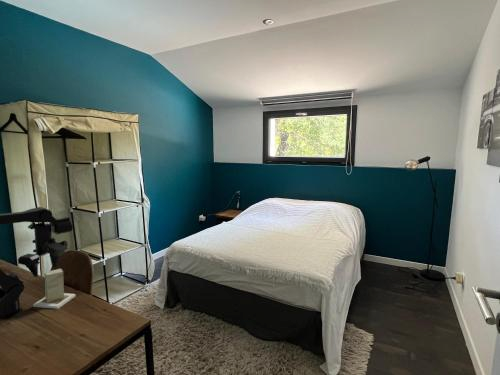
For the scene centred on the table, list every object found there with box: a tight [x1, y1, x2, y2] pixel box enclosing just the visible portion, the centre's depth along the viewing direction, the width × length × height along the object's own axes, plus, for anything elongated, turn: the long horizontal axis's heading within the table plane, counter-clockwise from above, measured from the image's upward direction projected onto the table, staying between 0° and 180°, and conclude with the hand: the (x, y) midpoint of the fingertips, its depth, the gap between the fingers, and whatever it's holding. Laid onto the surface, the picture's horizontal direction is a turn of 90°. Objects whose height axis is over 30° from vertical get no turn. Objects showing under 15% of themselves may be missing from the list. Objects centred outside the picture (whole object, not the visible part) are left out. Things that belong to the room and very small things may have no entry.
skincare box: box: [44, 268, 65, 302], centre depth 116 cm, size 6×4×12 cm
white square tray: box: [33, 292, 76, 310], centre depth 117 cm, size 10×11×1 cm
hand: (45, 271), depth 116 cm, fingers open, 9 cm apart
